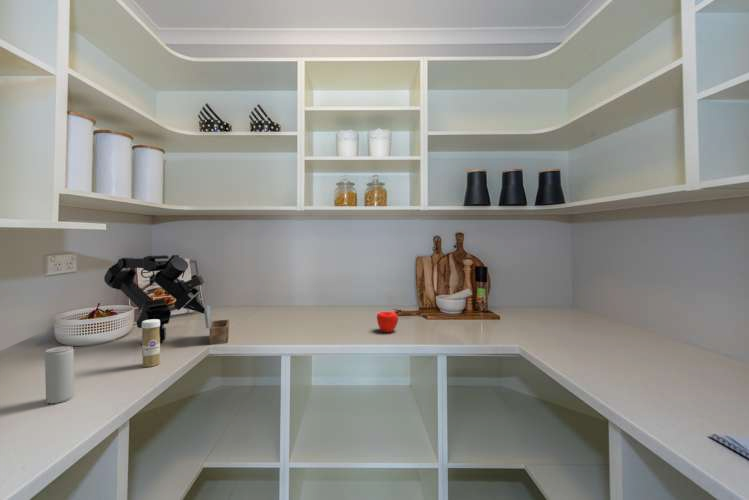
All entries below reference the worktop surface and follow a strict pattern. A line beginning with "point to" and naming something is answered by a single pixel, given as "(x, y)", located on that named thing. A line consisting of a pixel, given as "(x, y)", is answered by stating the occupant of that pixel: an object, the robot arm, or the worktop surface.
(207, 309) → the box lid
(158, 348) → the sprinkles bottle
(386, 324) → the apple
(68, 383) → the beverage can
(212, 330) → the walnut box
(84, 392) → the worktop surface
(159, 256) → the robot arm
